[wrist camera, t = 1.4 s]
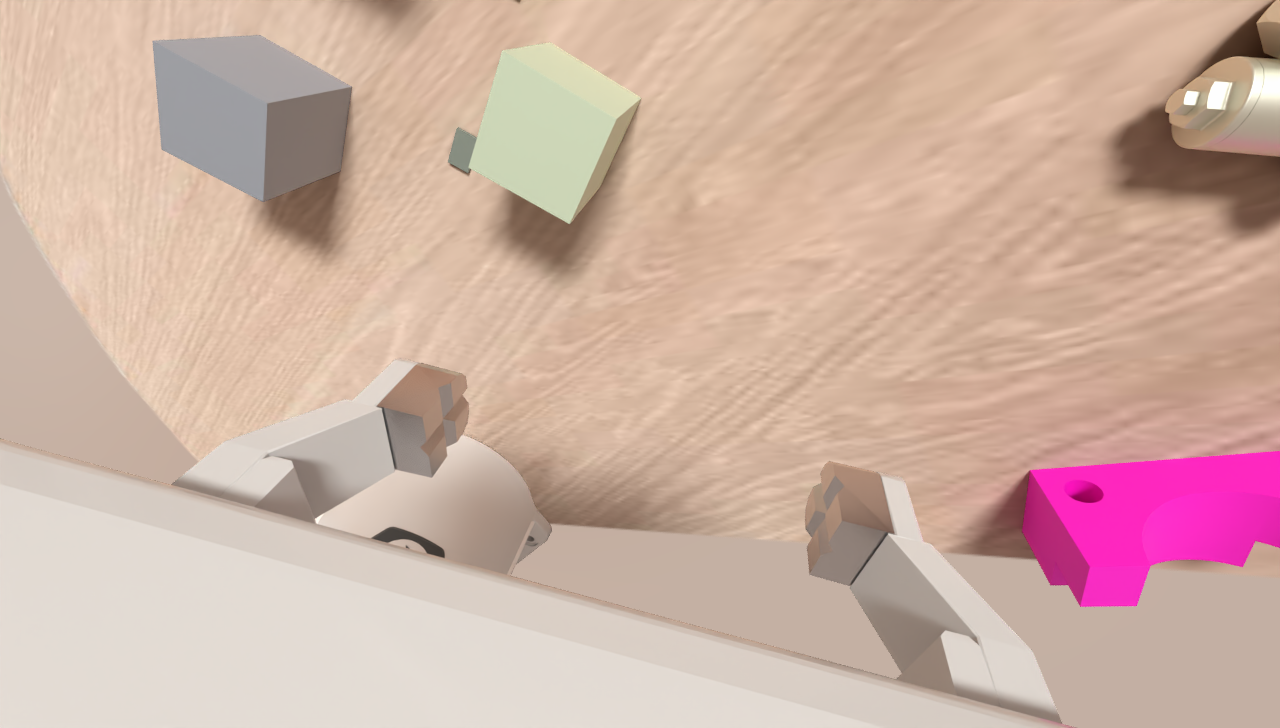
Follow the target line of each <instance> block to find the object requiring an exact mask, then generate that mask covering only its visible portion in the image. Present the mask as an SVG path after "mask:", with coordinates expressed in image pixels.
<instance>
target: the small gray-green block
mask: <svg viewBox="0 0 1280 728" xmlns="http://www.w3.org/2000/svg"><path fill="white" fill-rule="evenodd" d="M476 140H477V137H475V136H473V135H471V134H469V133H468V132H466V131H464V130H462V129H461V128H459V127H458V128H457V129H456V133H455V137H454V141H453V145H452V148H451V152H450V156H449V160H448V162H449V163H450V164H452V165H454V166H456V167H458V168H459V169H461V170H463V171H465V172H467V173H469V172H470V168H468V167H469V164H470V160H471V157H472V153H473V150H474V147H475V143H476Z"/></svg>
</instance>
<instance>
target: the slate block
mask: <svg viewBox="0 0 1280 728" xmlns="http://www.w3.org/2000/svg"><path fill="white" fill-rule="evenodd" d="M153 51H154V63H155V75H156V87H157V99H158V111H159V123H160V135H161V147H162V150H164V151H166V152H168V153H169V154H171V155H173V156H175V157H177V158H179V159H181V160H183V161H185V162H187V163H189V164H191V165H193V166H195V167H197V168H198V169H200V170H202V171H204V172H206V173H208V174H210V175H212V176H214V177H216V178H218V179H220V180H222V181H224V182H225V183H227V184H229V185H231V186H233V187H235V188H237V189H239V190H241V191H243V192H245V193H247V194H249V195H251V196H253V197H254V198H256V199H258V200H260V201H262V202H265V201H267V200H270V199H272V198H275V197H277V196H280V195H282V194H285V193H287V192H290V191H292V190H295V189H297V188H300V187H302V186H305V185H307V184H310V183H312V182H315V181H317V180H320V179H322V178H325V177H327V176H330V175H332V174H335V173H337V172H340V171H341V164H342V156H343V149H344V142H345V134H346V127H347V119H348V112H349V104H350V97H351V89H352V87H351V86H350V85H348V84H346V83H344V82H342V81H341V80H339V79H337V78H335V77H334V76H332V75H330V74H328V73H326V72H325V71H323V70H321V69H319V68H317V67H316V66H314V65H312V64H310V63H309V62H307V61H305V60H303V59H301V58H300V57H298V56H296V55H294V54H293V53H291V52H289V51H287V50H285V49H284V48H282V47H280V46H278V45H277V44H275V43H273V42H271V41H269V40H268V39H266V38H264V37H262V36H261V35H254V36H235V37H216V38H197V39H178V40H159V41H153Z"/></svg>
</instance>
